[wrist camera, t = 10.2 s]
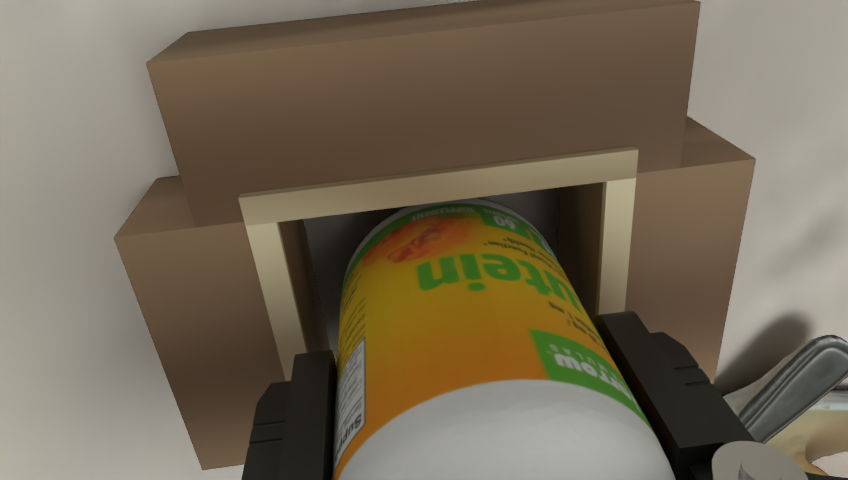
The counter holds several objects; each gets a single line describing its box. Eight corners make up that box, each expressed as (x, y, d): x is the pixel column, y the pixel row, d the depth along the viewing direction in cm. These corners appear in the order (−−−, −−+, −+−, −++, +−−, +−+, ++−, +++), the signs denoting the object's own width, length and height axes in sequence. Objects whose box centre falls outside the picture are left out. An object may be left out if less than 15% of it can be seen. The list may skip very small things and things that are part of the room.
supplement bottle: (585, 211, 15) (903, 637, 6) (517, 382, 17) (677, 858, 8) (362, 171, 14) (370, 614, 5) (323, 358, 16) (286, 875, 7)
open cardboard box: (112, 40, 13) (46, 76, 10) (703, -24, 14) (793, -6, 11) (249, 463, 19) (232, 557, 16) (650, 407, 20) (698, 488, 17)
